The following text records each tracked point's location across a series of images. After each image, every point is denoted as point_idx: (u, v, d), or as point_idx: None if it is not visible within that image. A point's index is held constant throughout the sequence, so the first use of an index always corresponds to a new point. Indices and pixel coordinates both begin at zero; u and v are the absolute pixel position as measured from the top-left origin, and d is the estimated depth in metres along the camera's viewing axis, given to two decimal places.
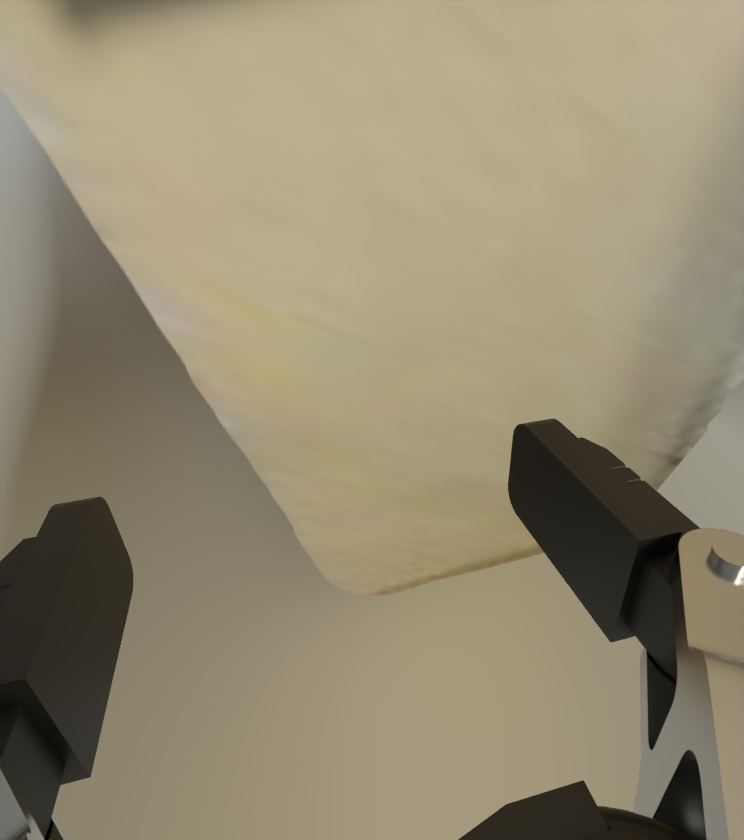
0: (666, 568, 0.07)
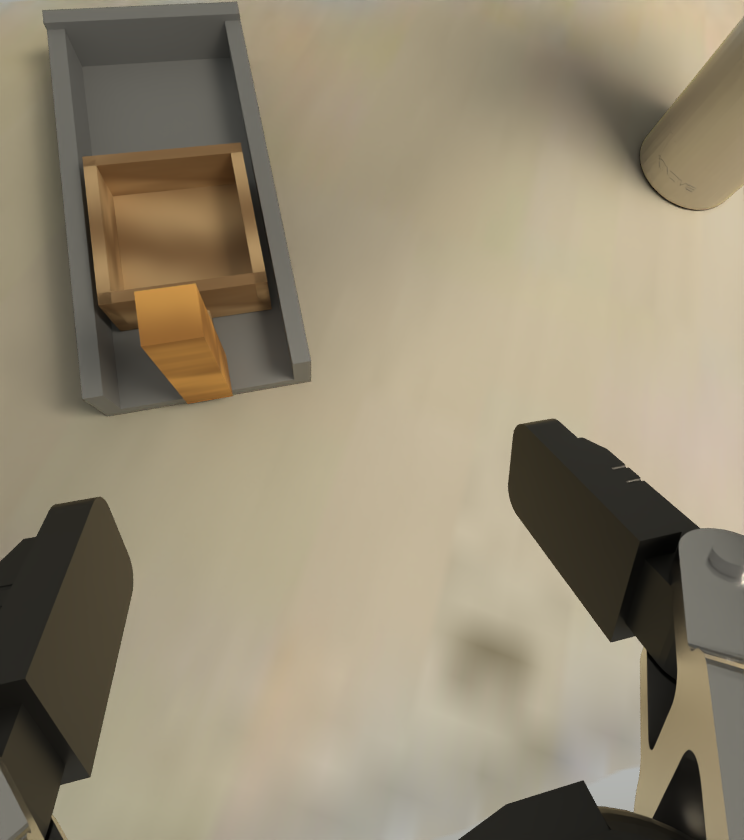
0: (666, 568, 0.07)
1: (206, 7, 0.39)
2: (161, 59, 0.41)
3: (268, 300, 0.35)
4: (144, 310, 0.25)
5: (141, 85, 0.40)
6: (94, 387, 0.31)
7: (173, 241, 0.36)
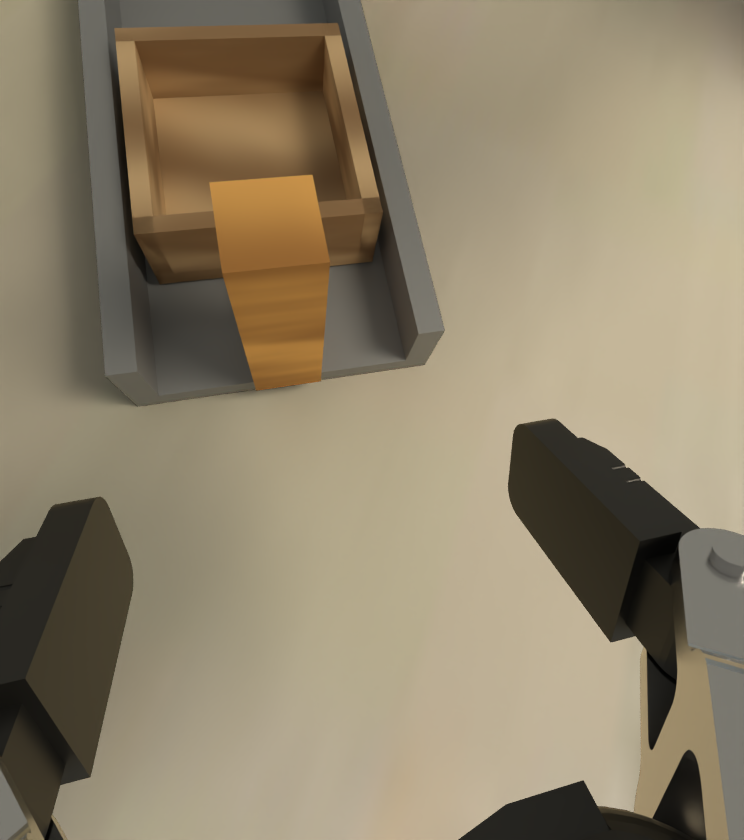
0: (666, 568, 0.07)
1: None
2: None
3: (373, 246, 0.24)
4: (227, 213, 0.14)
5: None
6: (124, 358, 0.20)
7: (237, 162, 0.25)
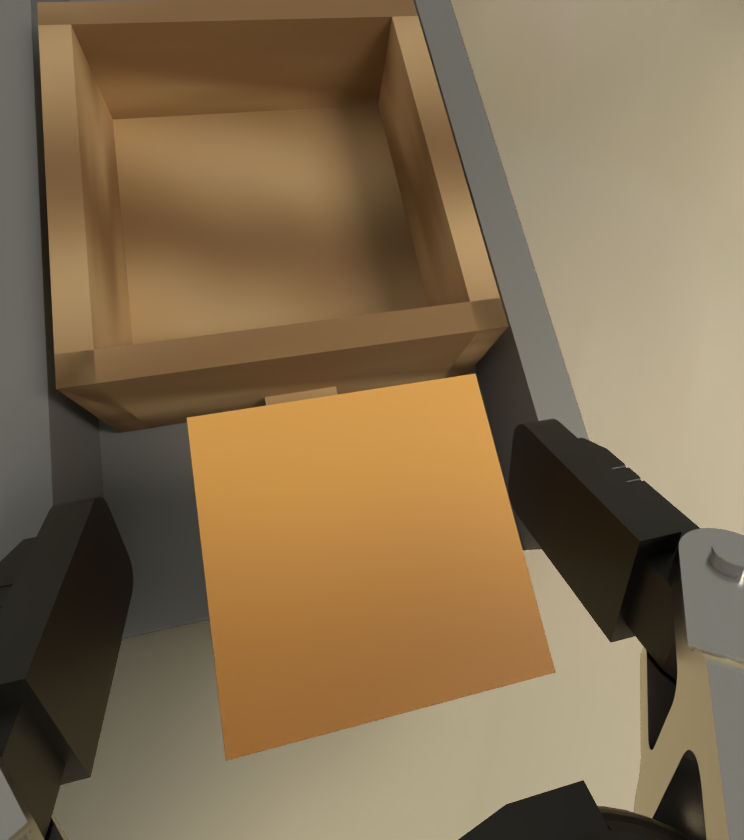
0: (666, 568, 0.07)
1: None
2: None
3: (472, 364, 0.15)
4: (241, 524, 0.05)
5: None
6: None
7: (246, 222, 0.16)
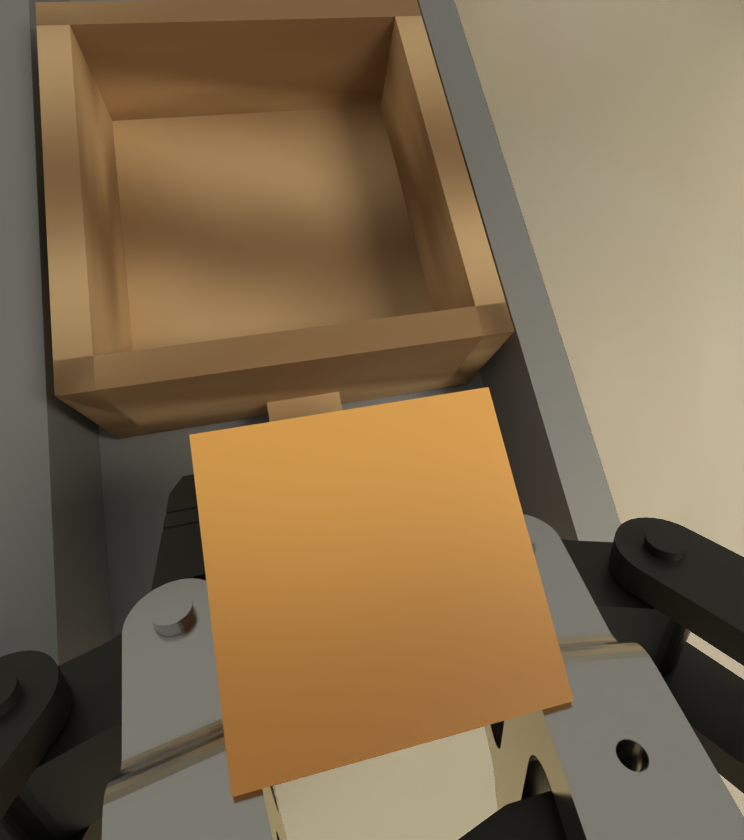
0: None
1: None
2: None
3: (477, 369, 0.15)
4: (246, 546, 0.05)
5: None
6: (33, 648, 0.10)
7: (248, 224, 0.16)
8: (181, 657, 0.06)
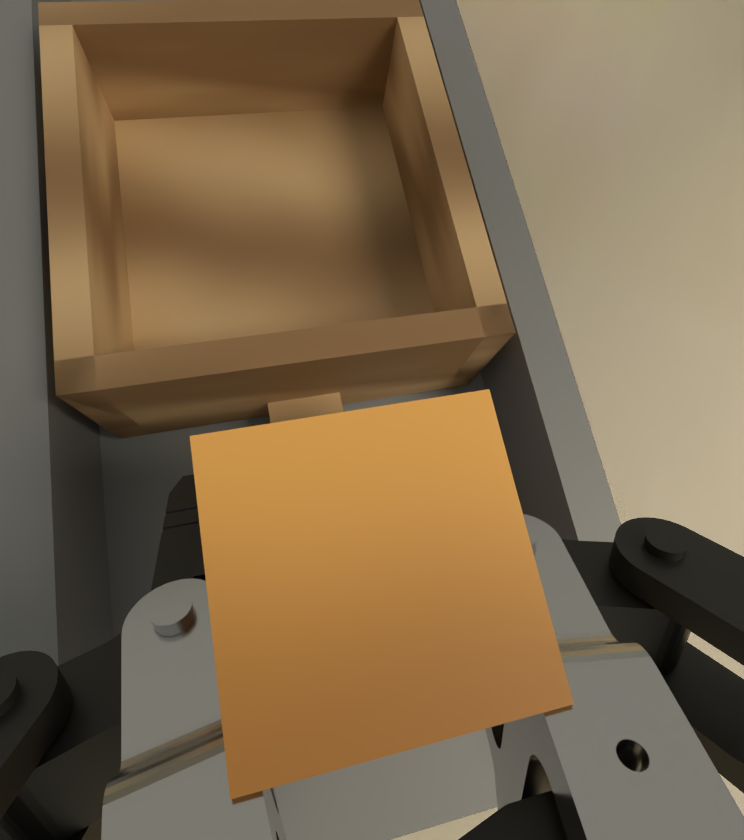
0: None
1: None
2: None
3: (478, 370, 0.15)
4: (246, 548, 0.05)
5: None
6: None
7: (249, 225, 0.16)
8: (180, 657, 0.06)
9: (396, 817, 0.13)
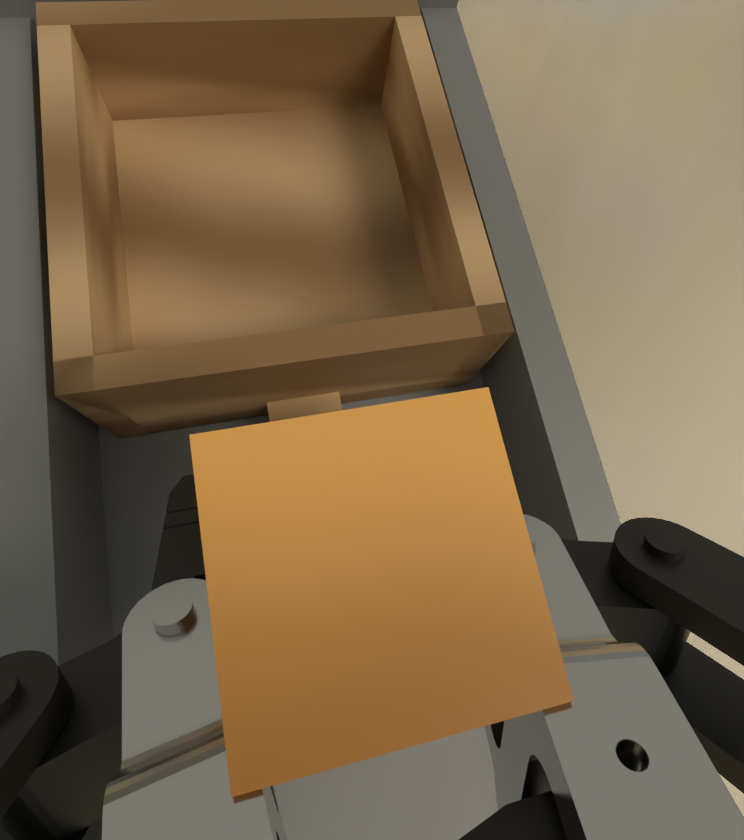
0: None
1: None
2: None
3: (477, 368, 0.15)
4: (246, 546, 0.05)
5: None
6: None
7: (248, 224, 0.16)
8: (180, 657, 0.06)
9: None
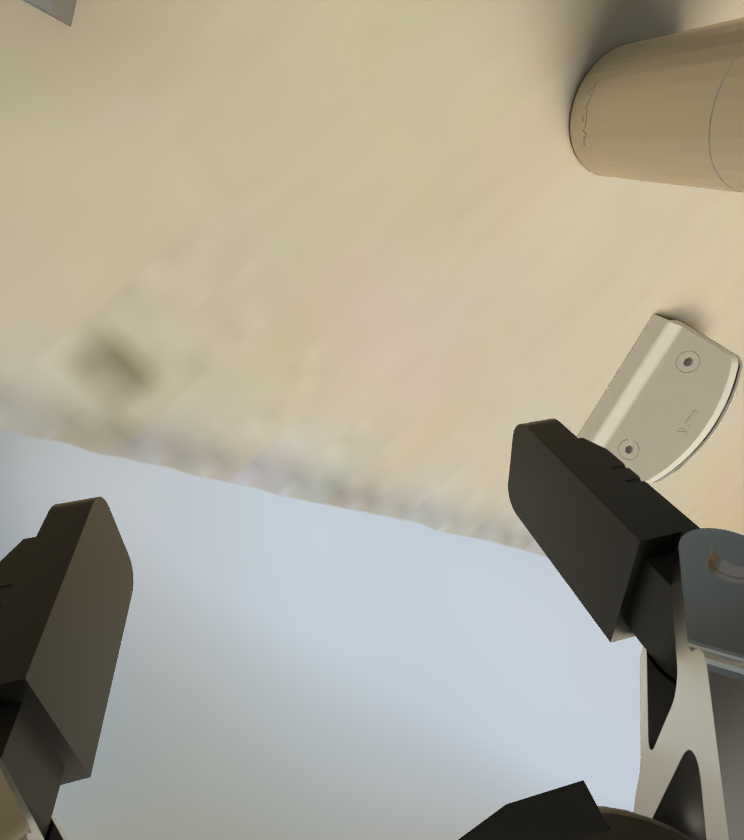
0: (666, 568, 0.07)
1: None
2: None
3: None
4: None
5: None
6: None
7: None
8: None
9: None
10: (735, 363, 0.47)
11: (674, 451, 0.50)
